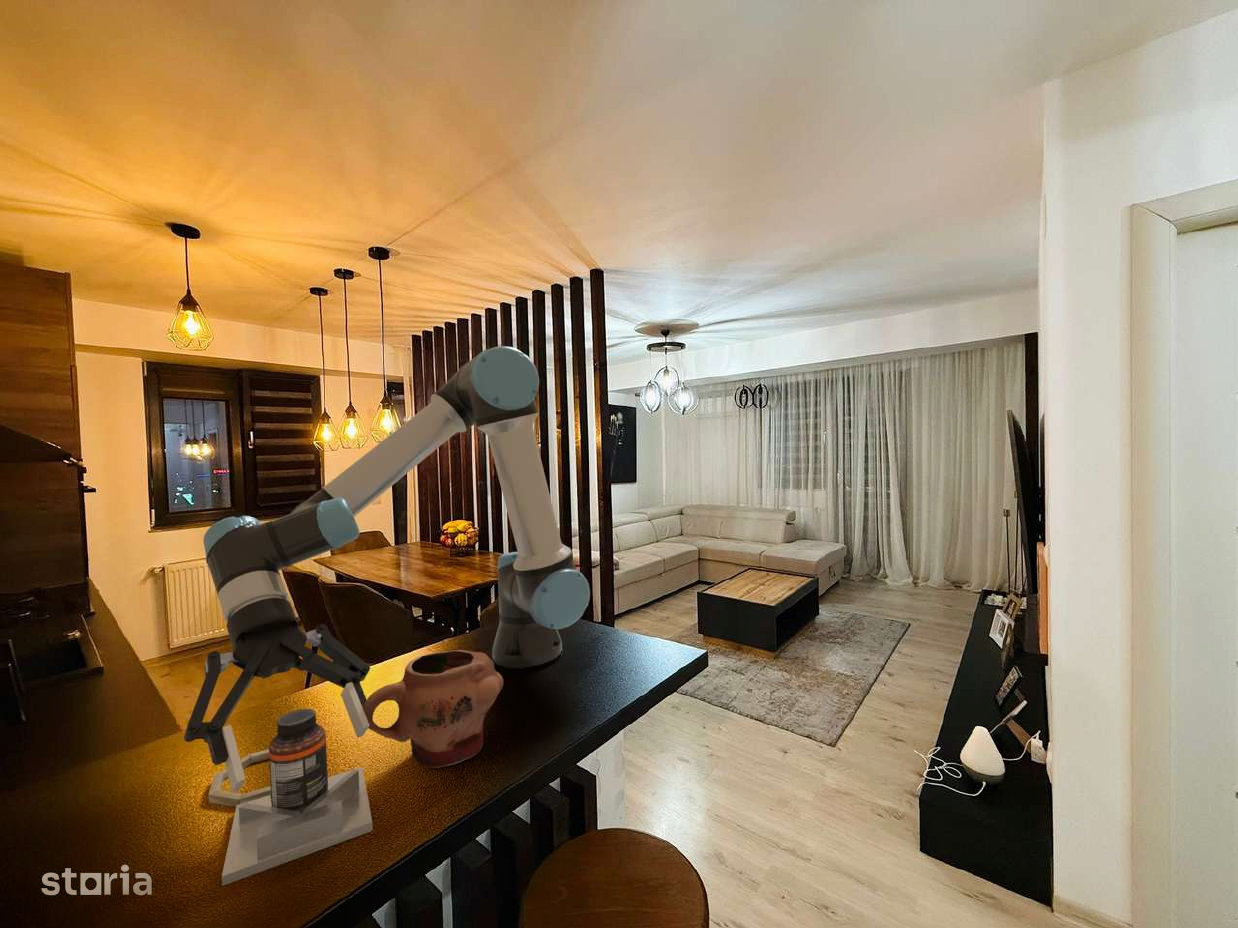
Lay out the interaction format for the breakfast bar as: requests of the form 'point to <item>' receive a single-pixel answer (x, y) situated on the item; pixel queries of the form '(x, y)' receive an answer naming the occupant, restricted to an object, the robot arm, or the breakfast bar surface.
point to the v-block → (296, 827)
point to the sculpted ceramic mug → (440, 705)
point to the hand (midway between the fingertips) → (306, 756)
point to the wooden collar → (237, 798)
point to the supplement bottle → (298, 761)
